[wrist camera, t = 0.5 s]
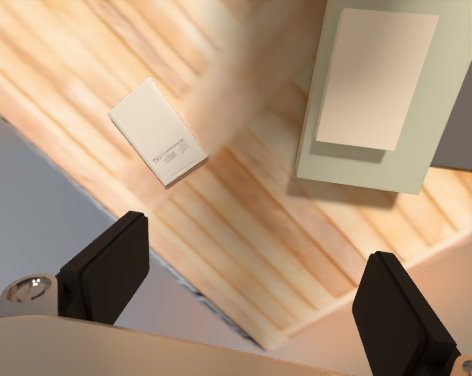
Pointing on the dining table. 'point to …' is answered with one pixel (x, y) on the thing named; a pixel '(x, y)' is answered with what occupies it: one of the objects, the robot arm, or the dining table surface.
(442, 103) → the sage green block
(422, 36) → the cream flat block
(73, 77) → the dining table surface
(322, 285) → the dining table surface
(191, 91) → the dining table surface
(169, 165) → the external hard drive
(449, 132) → the mat
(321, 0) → the dining table surface
